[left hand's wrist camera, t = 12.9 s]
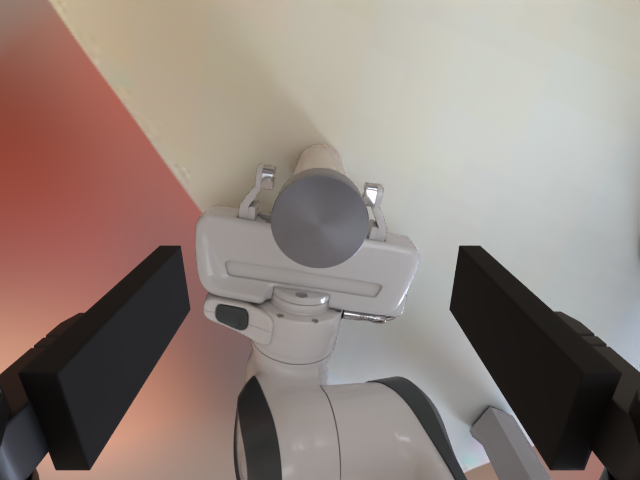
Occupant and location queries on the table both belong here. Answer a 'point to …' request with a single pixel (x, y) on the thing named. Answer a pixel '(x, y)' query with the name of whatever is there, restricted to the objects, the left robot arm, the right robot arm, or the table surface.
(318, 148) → the white cylinder
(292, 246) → the lid
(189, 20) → the table surface
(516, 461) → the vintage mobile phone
